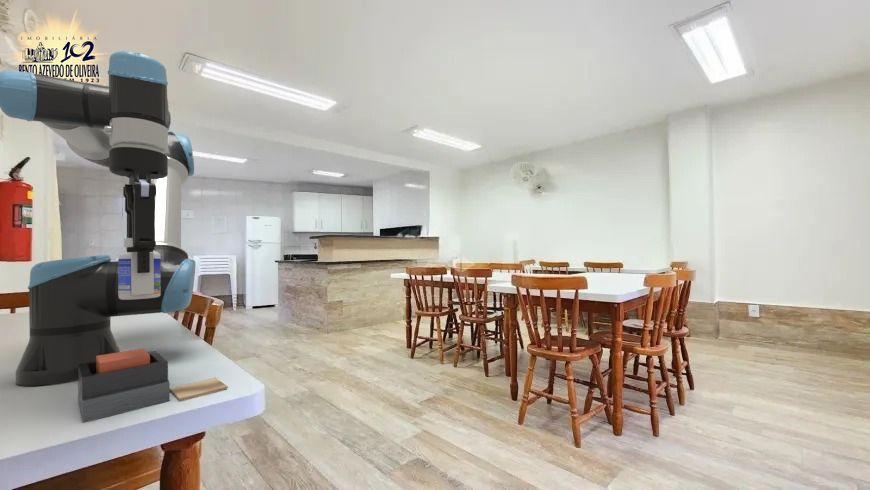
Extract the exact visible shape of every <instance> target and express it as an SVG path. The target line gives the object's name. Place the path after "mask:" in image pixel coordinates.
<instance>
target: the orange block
mask: <svg viewBox="0 0 870 490" xmlns="http://www.w3.org/2000/svg"><path fill="white" fill-rule="evenodd" d="M145 364H150V354H149V353H148V351H147V350H146V349H145V348H143V347H142V348H137V349H132V350H131V349H130V350H125V351H120V352H118V353H111V354H105V355H99V356H96V374H97V373H102V372H107V371H113V370H118V369H123V368H129V367H134V366H139V365H145Z"/></svg>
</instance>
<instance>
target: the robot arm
mask: <svg viewBox="0 0 870 490" xmlns="http://www.w3.org/2000/svg"><path fill="white" fill-rule="evenodd" d="M108 61H109V63H108V70H107V74H108V86H107V85H101V84H96V83H90V82H84V81H76V80H71V79H68V78H67V79H66V78H61V77H56V76H51V75H49V76H48V75H44V74H39V73H34V72H31V71H28V72H27V71H19V70H18V71H17V70H9V69H8V70H7V69H6V70H1V71H0V110H1V111H2V113H4V115H6V116H8V117H10V118H12V119H18V120H22V121H23V120H24V121H27V122H40V123H42V124H44V125H45V126H46V127H47V128H49V129H50V130H52V131H53V132H54V133H56V134H57V135H58V136H60V137H61V138H62V139H63V140H65V142H66V145H67V146H68V148H70V150H71V151H72V152H73V153H74V154H76V155H77V156H78V157H80V158H82V159H84V160H86V161H89V162H91V163H94V164H96V165H99V166H101V167H105V168H108V170H109V172H111V173H112V174H114V175H115V176H120V177H126V178H128V184H126V183H125V184H124V186H123V189H122V192H123V193H122V196H123V197H124V211H125V213H126V238H133V247H127V252H137V253H131V295H142V294H154V253H150V252H153V250H154V251H156V252H158V253H159V254H160V258H161V266H160V269H161V295H160V296H159V297H156V298H147V299H133V300H121V299H119V296H118V260H117V261H116V260H115V261H112V258H111V257H110V255H109V254H99V255H91V256H90V255H89V256H81V257H80V256H78V257H72V258H71V257H70V258H63V259H55V260H49V261H43V262H41V261H40V262H39V263H36V264H35V265H34V266H32V267H31V268H30V273H29V284H28V286H27V290H28V292H29V293H28V295H29V296H28V299H29V300H28V301H29V302H28V303H29V304H28V306H29V307H28V308H29V309H28V310H29V312H28V313H29V314H28V316H29V322H28V323H29V339H28V342H27V345H26V347H25V349H24V352H23V354H22V357H21V359H20V361H19V363H18V366H17V368H16V370H15V384H16V385H19V386H26V387H27V386H28V387H29V386H32V387H33V386H46V385H47V386H48V385H54V384H60V383H62V384H63V383H67V382H73V381H77V380H78V364H82V363H88V362H94V361H96V356H99V355H105V354H111V353H118V352H121V350H120V348H119V345H118V344H117V341H116V339H115V337H114V335H113V334H114V333H112V330H111V318H113V317H125V316H135V315H136V316H137V315H145V314H146V315H148V314H150V315H151V314H159V313H160V314H167V313H169V312H177V311H183V310H185V309H187V308H189V306H190V304H191V302H192V298H193V293H194V288H195V287H194V286H195V277H196V267H197V266H196V265H197V264H196V260H195V259H192V258H189V255H188V252H187V251H186V250H184V249H183V248H182V244H181V243H182V185H183V184H184V183H185V182H186V181H187V179H188V178H189V177H192V176H193V175H194V174H195V162H194V161H195V160H194V155H193V146H192V142H191V139H190V138H189V136H188V135H186V134H184V133H179V132H175V131H171V130H170V126H171V120H172V119H171V118H172V117H171V112H170V111H169V100H168V84H169V82H168V79H167V78H168V77H167V69H166V67H165V66H164V65H163V63H162V62H160V61H159V60H158V59H156V58H154V57H152V56H150V55H146V54H144V53H141V52H136V51H129V50H118V51H115V52H113V53H111V55H110V56H109V59H108Z"/></svg>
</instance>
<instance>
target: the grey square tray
mask: <svg viewBox="0 0 870 490" xmlns="http://www.w3.org/2000/svg"><path fill="white" fill-rule="evenodd" d="M147 352H148V351H147ZM148 353H149V354H150V364H145V365H139V366H134V367H129V368H123V369H118V370H113V371H107V372H102V373H97V374H96V361H94V362H88V363H82V364H78V381H77V392H78V393H77V401H78V407H79V412H80V416H81V421H82V423H87V422H91V421H95V420H99V419H103V418H107V417H111V416H114V415H115V416H116V415H118V414H123V413H127V412H131V411H134V410H138V409H143V408H146V407H150V406H154V405H157V404H163V403H166V402H170V401H171V400H170V399H171V398H170V397H171V396H170V395H171V394H170V393H171V392H170V388H171V387H170V381H169V360H167V359H165V358H164V357H163V356H162V355H161V354H160V353H159V352H158V351H156V350H153V351H149V352H148Z"/></svg>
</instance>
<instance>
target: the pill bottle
mask: <svg viewBox="0 0 870 490" xmlns="http://www.w3.org/2000/svg"><path fill="white" fill-rule="evenodd" d="M123 246H124V247H123V248H125V250H124V251H121V252H120V253H119V254H118V260H117V261H118V296H119V299H121V300H133V299H147V298H156V297H159V296H160V295H161V269H160V266H161V258H160V254H159V253H158V252H156V251H154V250H153V252H150V253H154V294H142V295H131V253H137V252H127V247H133V238H127V237H125V238H124V240H123Z"/></svg>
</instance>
